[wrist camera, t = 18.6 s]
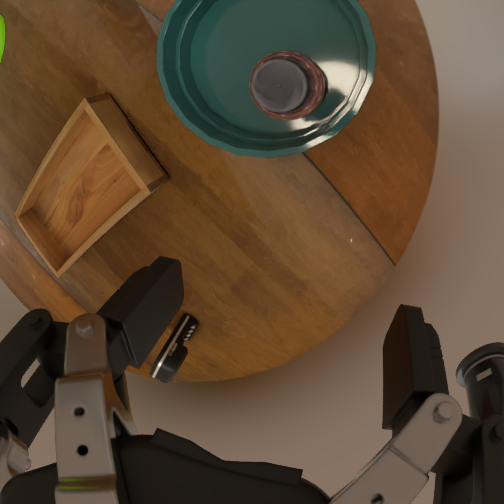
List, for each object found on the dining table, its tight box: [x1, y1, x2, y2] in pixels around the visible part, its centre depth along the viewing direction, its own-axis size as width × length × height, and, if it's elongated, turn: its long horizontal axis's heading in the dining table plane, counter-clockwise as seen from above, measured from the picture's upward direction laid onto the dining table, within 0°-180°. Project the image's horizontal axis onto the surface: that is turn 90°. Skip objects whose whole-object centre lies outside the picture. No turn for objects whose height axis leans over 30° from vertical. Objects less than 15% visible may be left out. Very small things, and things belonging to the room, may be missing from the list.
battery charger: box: [150, 314, 198, 383], centre depth 49 cm, size 7×4×11 cm, turn 153°
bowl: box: [157, 0, 376, 158], centre depth 25 cm, size 20×20×6 cm
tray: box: [15, 94, 169, 278], centre depth 41 cm, size 31×15×6 cm, turn 125°
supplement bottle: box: [249, 50, 327, 120], centre depth 23 cm, size 6×6×11 cm
